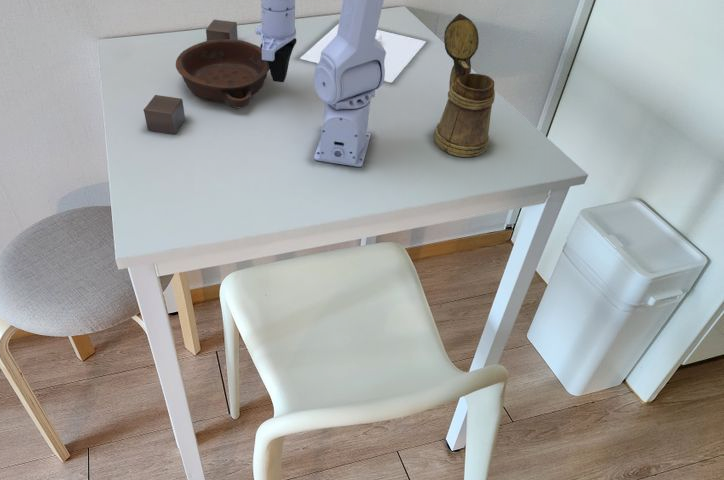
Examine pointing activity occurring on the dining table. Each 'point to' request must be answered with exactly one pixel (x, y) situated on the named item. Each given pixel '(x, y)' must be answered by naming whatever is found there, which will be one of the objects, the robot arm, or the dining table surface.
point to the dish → (223, 70)
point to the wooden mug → (465, 95)
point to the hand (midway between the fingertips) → (279, 80)
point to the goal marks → (170, 110)
